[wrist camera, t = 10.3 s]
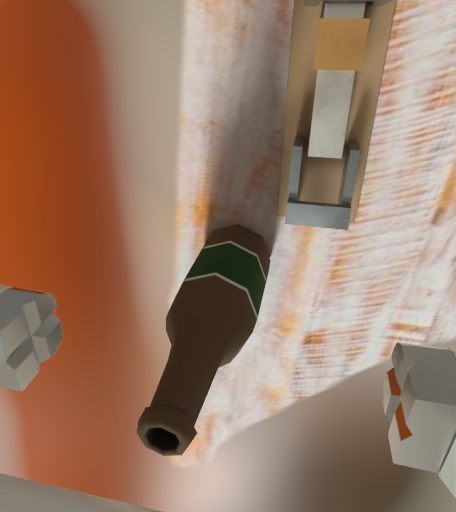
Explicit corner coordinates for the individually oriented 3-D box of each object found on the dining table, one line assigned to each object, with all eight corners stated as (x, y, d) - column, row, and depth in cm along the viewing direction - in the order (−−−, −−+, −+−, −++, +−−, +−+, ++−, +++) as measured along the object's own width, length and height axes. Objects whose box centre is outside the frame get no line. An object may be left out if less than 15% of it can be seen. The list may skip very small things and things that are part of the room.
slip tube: (373, -43, 28) (382, -57, 25) (343, 150, 35) (346, 164, 31) (326, -43, 29) (326, -55, 25) (305, 148, 36) (303, 161, 32)
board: (408, -76, 28) (410, -80, 27) (353, 219, 39) (354, 223, 38) (301, -72, 30) (300, -76, 29) (278, 212, 41) (277, 215, 40)
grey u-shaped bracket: (357, 139, 35) (361, 152, 31) (344, 212, 38) (347, 233, 34) (295, 135, 36) (292, 148, 32) (288, 207, 39) (284, 226, 35)
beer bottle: (239, 208, 41) (157, 375, 21) (286, 260, 43) (252, 461, 23) (189, 247, 45) (77, 422, 24) (234, 294, 47) (164, 493, 26)
